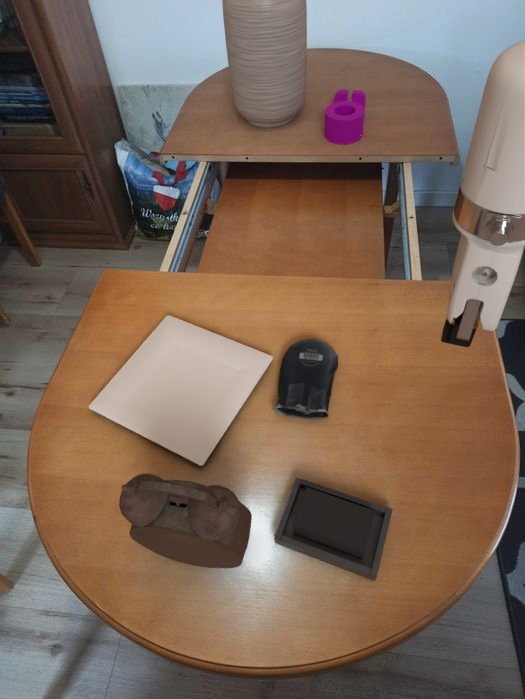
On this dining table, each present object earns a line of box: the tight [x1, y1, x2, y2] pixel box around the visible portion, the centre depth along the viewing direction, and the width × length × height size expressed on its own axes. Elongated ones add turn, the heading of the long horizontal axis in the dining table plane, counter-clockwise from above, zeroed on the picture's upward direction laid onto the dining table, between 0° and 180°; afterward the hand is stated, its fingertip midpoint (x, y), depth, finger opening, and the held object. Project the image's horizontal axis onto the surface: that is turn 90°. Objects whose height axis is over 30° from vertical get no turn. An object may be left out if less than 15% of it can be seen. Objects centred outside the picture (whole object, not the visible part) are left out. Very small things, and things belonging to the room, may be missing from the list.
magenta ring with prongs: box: [323, 89, 367, 145], centre depth 129 cm, size 16×10×6 cm, turn 166°
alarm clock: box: [118, 473, 253, 569], centre depth 60 cm, size 15×7×20 cm, turn 78°
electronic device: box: [271, 337, 339, 420], centre depth 81 cm, size 9×6×15 cm
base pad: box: [273, 476, 393, 582], centre depth 67 cm, size 14×9×2 cm
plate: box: [88, 314, 274, 466], centre depth 83 cm, size 22×22×2 cm
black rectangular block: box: [293, 487, 376, 559], centre depth 66 cm, size 10×6×4 cm, turn 68°
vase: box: [221, 0, 308, 128], centre depth 125 cm, size 20×20×34 cm
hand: (455, 339), depth 57 cm, fingers closed
